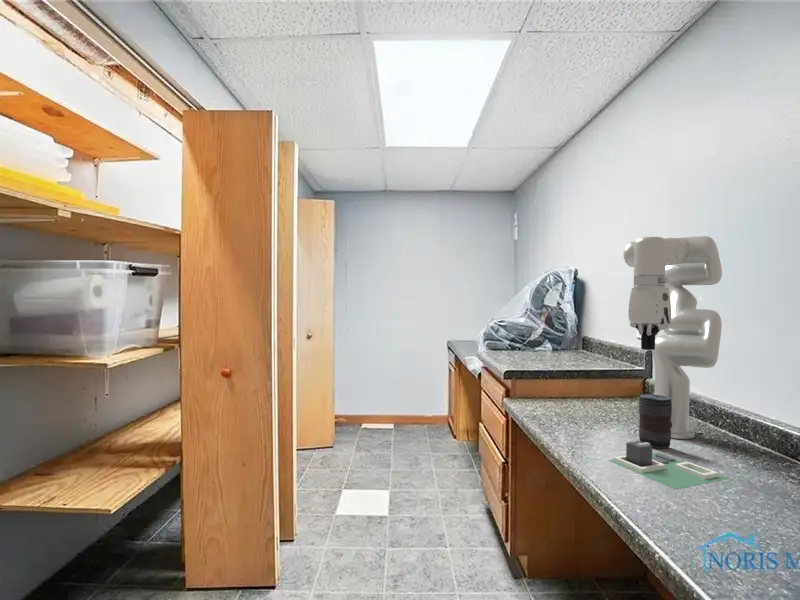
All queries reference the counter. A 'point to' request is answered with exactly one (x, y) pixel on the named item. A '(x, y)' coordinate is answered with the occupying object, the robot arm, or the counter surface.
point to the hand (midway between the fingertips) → (647, 349)
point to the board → (671, 471)
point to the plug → (639, 453)
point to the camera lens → (655, 420)
